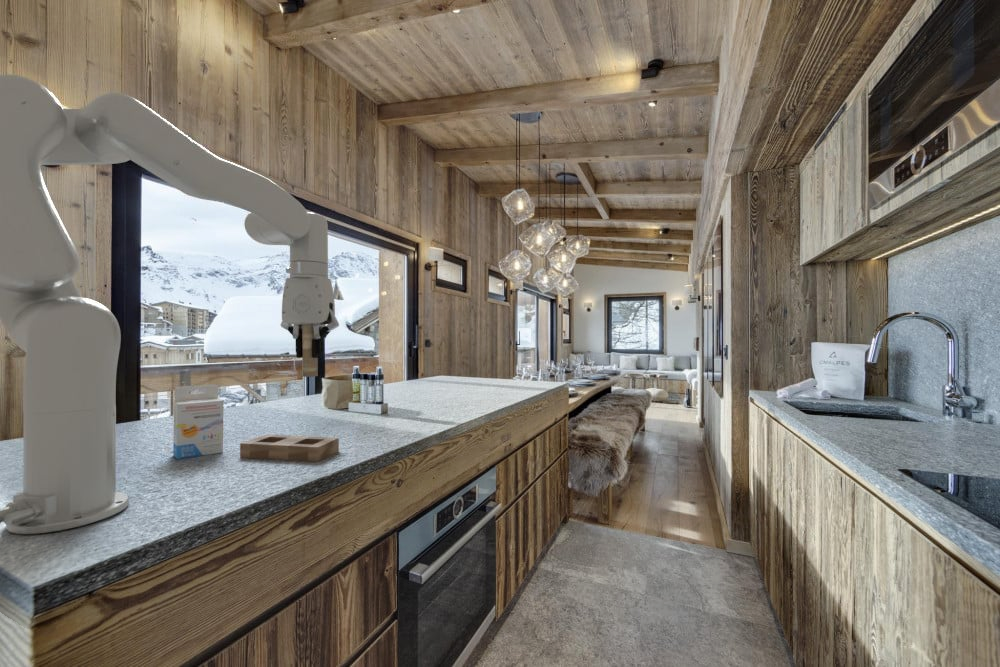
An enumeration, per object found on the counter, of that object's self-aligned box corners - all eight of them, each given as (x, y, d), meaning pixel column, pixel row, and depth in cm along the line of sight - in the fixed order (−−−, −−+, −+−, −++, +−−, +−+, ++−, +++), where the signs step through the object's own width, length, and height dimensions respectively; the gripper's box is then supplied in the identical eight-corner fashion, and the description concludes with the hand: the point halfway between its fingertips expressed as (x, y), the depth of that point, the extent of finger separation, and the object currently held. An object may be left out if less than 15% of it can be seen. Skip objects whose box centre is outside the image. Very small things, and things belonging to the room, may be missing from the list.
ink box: (176, 460, 90) (176, 389, 90) (172, 455, 94) (173, 387, 94) (224, 452, 96) (224, 385, 96) (218, 448, 100) (219, 383, 100)
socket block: (318, 461, 89) (318, 447, 89) (240, 457, 92) (240, 443, 92) (338, 451, 97) (338, 437, 97) (266, 447, 100) (266, 434, 100)
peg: (312, 376, 92) (311, 320, 92) (299, 376, 93) (299, 320, 92) (320, 375, 95) (320, 320, 95) (308, 375, 96) (307, 320, 95)
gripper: (263, 270, 91) (263, 358, 91) (334, 268, 89) (335, 359, 89) (286, 275, 99) (286, 356, 99) (353, 273, 96) (353, 356, 96)
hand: (309, 356), depth 94 cm, fingers closed on peg, 3 cm apart
